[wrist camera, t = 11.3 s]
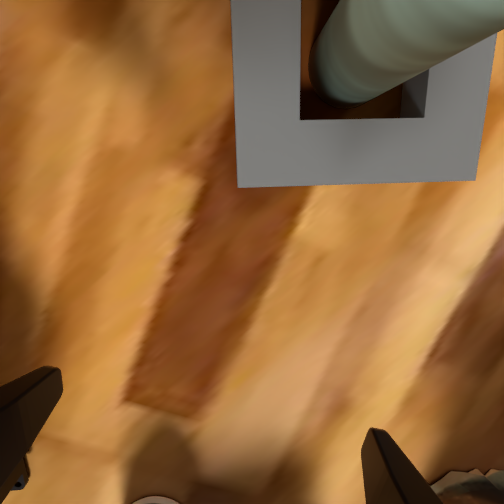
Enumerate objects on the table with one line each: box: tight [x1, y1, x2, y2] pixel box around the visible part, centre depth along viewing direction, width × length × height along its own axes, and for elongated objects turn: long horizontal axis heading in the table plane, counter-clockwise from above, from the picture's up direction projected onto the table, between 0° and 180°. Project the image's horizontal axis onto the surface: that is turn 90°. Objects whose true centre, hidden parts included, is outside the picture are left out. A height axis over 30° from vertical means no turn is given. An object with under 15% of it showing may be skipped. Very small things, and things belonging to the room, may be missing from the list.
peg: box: [308, 0, 504, 109], centre depth 11 cm, size 4×4×13 cm
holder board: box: [230, 0, 497, 188], centre depth 16 cm, size 13×13×2 cm
